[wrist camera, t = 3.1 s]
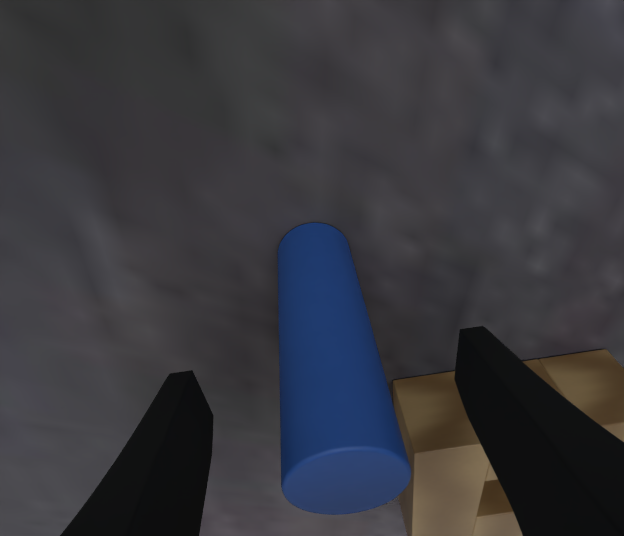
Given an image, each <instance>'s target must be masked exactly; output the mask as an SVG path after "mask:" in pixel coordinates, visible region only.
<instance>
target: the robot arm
mask: <svg viewBox="0 0 624 536" xmlns="http://www.w3.org/2000/svg"><path fill="white" fill-rule="evenodd" d="M454 380H455V383H456V386H457V389H458V392H459V395H460V398H461V400H462V403H463V406H464V409H465V411H466V414H467V416H468V419H469V421H470V423H471V425H472V427H473V429H474V431H475V433H476V435H477V437H478V439H479V441H480V444H481V446H482V448H483V450H484V452H485V454H486V456H487V458H488V460H489V462H490V464H491V466H492V468H493V470H494V472H495V474H496V476H497V478H498V480H499V482H500V484H501V486H502V488H503V490H504V492H505V495H506V497H507V499H508V501H509V503H510V505H511V508H512V510H513V512H514V514H515V517H516V519H517V522H518V524H519V527H520V530H521V532H522V535H523V536H624V442H623V441H622V440H620V439H619V438H617V437H616V436H615V435H613V434H612V433H610V432H609V431H608V430H606V429H605V428H604V427H602V426H601V425H599V424H598V423H597V422H595V421H594V420H593V419H592V418H590V417H589V416H588V415H586V414H585V413H584V412H582V411H581V410H580V409H579V408H577V407H576V406H575V405H573V404H572V403H571V402H570V401H568V400H567V399H566V398H565V397H563V396H562V395H561V394H560V393H559V392H557V391H556V390H555V389H554V388H553V387H551V386H550V385H549V384H548V383H547V382H545V381H544V380H543V379H542V378H541V377H540V376H538V375H537V374H536V373H535V372H534V371H533V370H531V369H530V368H529V367H528V366H527V365H526V364H525V363H523V362H522V361H521V360H520V359H519V358H518V357H517V356H516V355H515V354H513V353H512V352H511V351H510V350H509V349H508V348H507V347H506V346H505V345H504V344H502V343H501V342H500V341H499V340H498V339H497V338H496V337H495V336H494V335H493V334H492V333H491V332H489V331H488V330H487V329H486V328H485V327H484V326H479V327H473V328H466V329H460V333H459V342H458V351H457V359H456V368H455V377H454ZM212 441H213V414H212V411H211V409H210V407H209V405H208V403H207V401H206V399H205V396H204V394H203V392H202V390H201V388H200V386H199V384H198V381H197V379H196V377H195V375H194V373H193V371H192V370H191V371H184V372H178V373H171V374H169V376H168V377H167V378H166V380H165V382H164V383H163V385H162V387H161V388H160V390H159V392H158V394H157V395H156V397H155V399H154V400H153V402H152V404H151V405H150V407H149V409H148V410H147V412H146V414H145V415H144V417H143V418H142V420H141V422H140V423H139V425H138V427H137V428H136V430H135V431H134V433H133V434H132V436H131V437H130V439H129V441H128V442H127V444H126V445H125V447H124V448H123V450H122V452H121V453H120V455H119V456H118V458H117V459H116V461H115V462H114V463H113V465H112V466H111V468H110V469H109V471H108V472H107V474H106V475H105V476H104V478H103V479H102V481H101V482H100V484H99V485H98V486H97V488H96V489H95V491H94V492H93V494H92V495H91V496H90V498H89V499H88V500H87V502H86V503H85V504H84V506H83V507H82V508H81V510H80V511H79V512H78V514H77V515H76V516H75V518H74V519H73V520H72V521H71V523H70V524H69V525H68V526H67V528H66V529H65V530H64V531H63V533H62V534H61V535H60V536H199V532H200V526H201V519H202V513H203V507H204V501H205V495H206V488H207V482H208V476H209V469H210V463H211V456H212Z"/></svg>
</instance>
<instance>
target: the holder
mask: <svg viewBox="0 0 624 536" xmlns="http://www.w3.org/2000/svg"><path fill="white" fill-rule="evenodd" d="M522 362H523V363H525V364H526V365H527V366H528V367H529V368H530V369H531V370H533V371H534V372H535V373H536V374H537V375H538V376H540V377H541V378H542V379H543V380H544V381H545V382H547V383H548V384H549V385H550V386H551V387H553V388H554V389H555V390H556V391H557V392H559V393H560V394H561V395H562V396H563V397H565V398H566V399H567V400H568V401H570V402H571V403H572V404H573V405H575V406H576V407H577V408H579V409H580V410H581V411H582V412H584V413H585V414H586V415H588V416H589V417H590V418H592V419H593V420H594V421H595V422H597V423H598V424H599V425H601V426H602V427H604V428H605V429H606V430H608V431H609V432H610V433H612V434H613V435H615V436H616V437H617V438H619V439H620V440H622V441H623V442H624V368H623V367H622V366H621V365H620V364H619V363H618V362H617V361H616V359H615V358H614V357H613V356H612V355H611V354H610V353H609V352H608V351H607V350H606V349H602V350H595V351H588V352H582V353H575V354H568V355H562V356H555V357H548V358H541V359H539V360H538V359H534V360H528V361H522ZM454 377H455V371H452V372H445V373H439V374H432V375H425V376H418V377H412V378H405V379H398V380H393V406H394V410H395V413H396V417H397V420H398V424H399V428H400V431H401V435H402V438H403V442H404V445H405V449H406V453H407V456H408V460H409V463H410V467H411V477H410V481H409V484H408V485H407V487H406V488H405V489H404V491H403V492H402V493H400V494H399V495H398V498H399V502H400V507H401V511H402V515H403V519H404V523H405V527H406V532H407V536H523V535H522V532H521V530H520V527H519V524H518V522H517V519H516V517H515V514H514V512H513V510H512V508H511V505H510V503H509V501H508V499H507V497H506V495H505V492H504V490H503V488H502V486H501V484H500V482H499V480H498V478H497V476H496V474H495V472H494V470H493V468H492V466H491V464H490V462H489V460H488V458H487V456H486V454H485V452H484V450H483V448H482V446H481V444H480V441H479V439H478V437H477V435H476V433H475V431H474V429H473V427H472V425H471V423H470V421H469V419H468V416H467V414H466V411H465V409H464V406H463V403H462V400H461V398H460V395H459V392H458V389H457V386H456V383H455V380H454Z"/></svg>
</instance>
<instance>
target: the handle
mask: <svg viewBox="0 0 624 536" xmlns="http://www.w3.org/2000/svg"><path fill="white" fill-rule="evenodd" d="M278 303H279V366H280V428H281V487H282V491H283V493H284V495H285V497H286V499H287V500H288V501H289V502H290V503H291V504H293V505H294V506H296V507H298V508H300V509H302V510H305V511H309V512H313V513H319V514H332V515H337V514H350V513H356V512H361V511H365V510H369V509H372V508H375V507H378V506H381V505H383V504H385V503H387V502H389V501H391V500H392V499H394V498H395V497H397V496H398V495H399V494H400V493H402V492H403V491H404V489H405V488H406V487H407V485H408V484H409V481H410V477H411V467H410V463H409V460H408V456H407V453H406V449H405V445H404V442H403V438H402V435H401V431H400V428H399V424H398V420H397V417H396V413H395V410H394V406H393V403H392V399H391V395H390V392H389V388H388V385H387V381H386V377H385V374H384V370H383V367H382V363H381V360H380V356H379V352H378V349H377V345H376V342H375V338H374V335H373V331H372V327H371V324H370V320H369V317H368V313H367V310H366V306H365V302H364V299H363V295H362V292H361V288H360V285H359V281H358V277H357V274H356V270H355V267H354V263H353V259H352V256H351V252H350V249H349V245H348V242H347V240H346V238H345V237H344V235H343V234H342V233H341V232H340V231H339V230H337V229H336V228H334V227H332V226H330V225H327V224H323V223H307V224H303V225H300V226H298V227H296V228H294V229H292V230H291V231H290V232H289V233H287V234H286V236H285V237H284V238H283V239H282V241H281V243H280V245H279V248H278Z"/></svg>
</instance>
